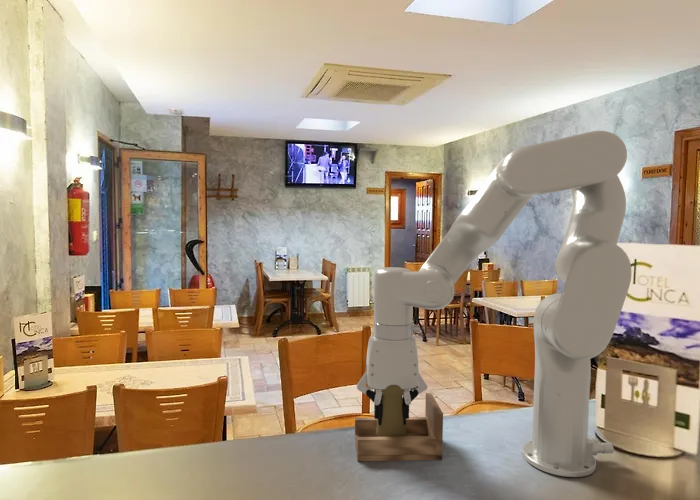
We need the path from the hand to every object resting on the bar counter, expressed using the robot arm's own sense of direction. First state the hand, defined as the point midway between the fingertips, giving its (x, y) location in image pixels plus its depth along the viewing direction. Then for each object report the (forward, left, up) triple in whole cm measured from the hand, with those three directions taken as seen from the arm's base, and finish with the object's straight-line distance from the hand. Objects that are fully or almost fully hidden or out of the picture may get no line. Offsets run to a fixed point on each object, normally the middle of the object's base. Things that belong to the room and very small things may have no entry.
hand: (391, 421), depth 95 cm
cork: (0, 0, -2) cm, 2 cm away
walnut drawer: (-1, 0, -5) cm, 5 cm away
